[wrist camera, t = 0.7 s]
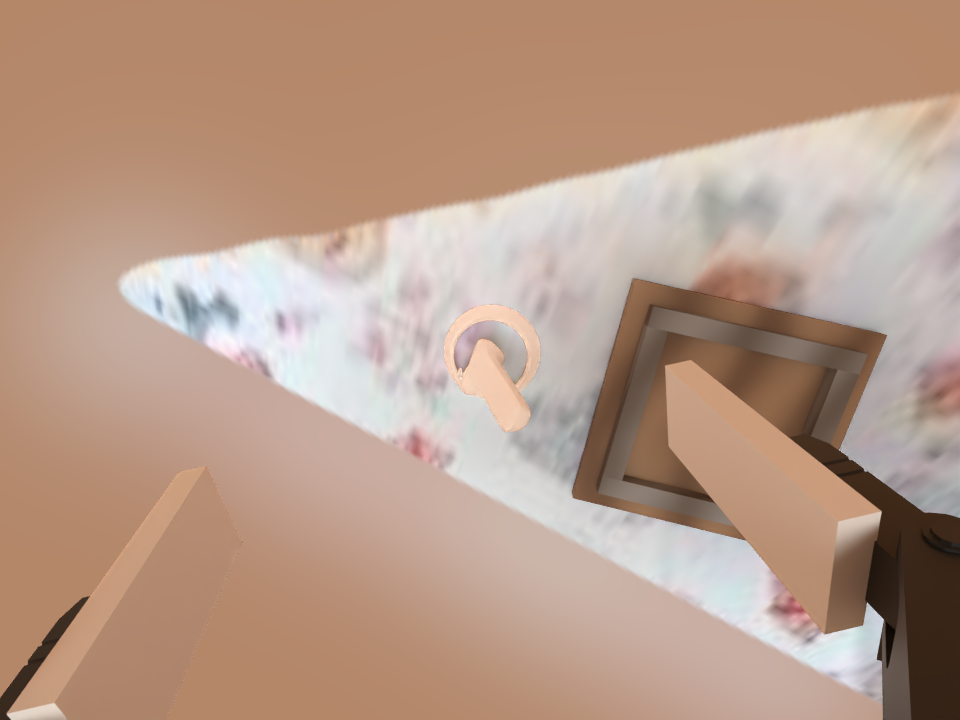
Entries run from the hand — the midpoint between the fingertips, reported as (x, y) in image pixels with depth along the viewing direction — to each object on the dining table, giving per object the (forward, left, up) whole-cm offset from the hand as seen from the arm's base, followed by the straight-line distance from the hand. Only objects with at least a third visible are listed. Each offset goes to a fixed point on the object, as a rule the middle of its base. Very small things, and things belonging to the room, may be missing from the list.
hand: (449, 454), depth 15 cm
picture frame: (-18, +4, -26) cm, 32 cm away
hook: (0, +3, -27) cm, 27 cm away
